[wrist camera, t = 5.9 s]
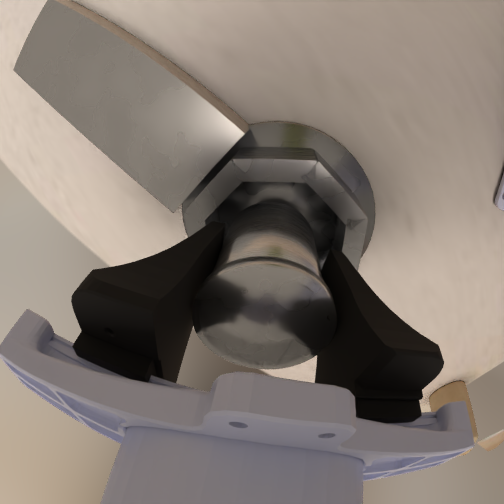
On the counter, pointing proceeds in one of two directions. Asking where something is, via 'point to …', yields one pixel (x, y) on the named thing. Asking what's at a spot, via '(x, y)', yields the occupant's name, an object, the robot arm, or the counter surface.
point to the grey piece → (191, 133)
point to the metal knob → (266, 292)
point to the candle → (453, 394)
